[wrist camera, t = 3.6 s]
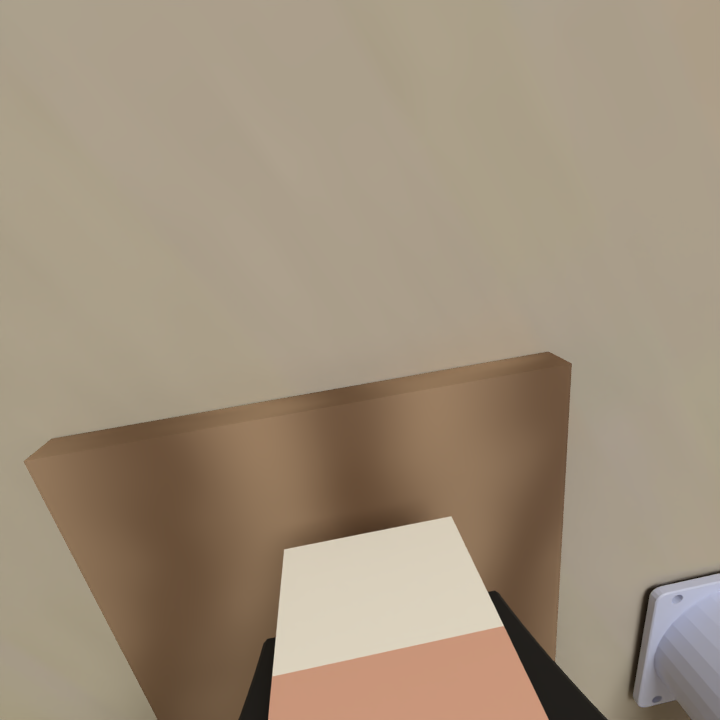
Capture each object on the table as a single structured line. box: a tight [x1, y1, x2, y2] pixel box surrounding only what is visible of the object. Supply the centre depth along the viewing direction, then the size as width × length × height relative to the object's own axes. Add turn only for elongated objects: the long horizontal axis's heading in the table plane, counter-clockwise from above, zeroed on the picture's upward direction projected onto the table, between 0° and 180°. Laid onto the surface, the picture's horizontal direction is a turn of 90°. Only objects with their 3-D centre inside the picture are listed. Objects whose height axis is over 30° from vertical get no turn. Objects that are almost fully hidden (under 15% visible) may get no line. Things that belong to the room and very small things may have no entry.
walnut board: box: [24, 352, 572, 720], centre depth 15 cm, size 16×24×2 cm, turn 8°
